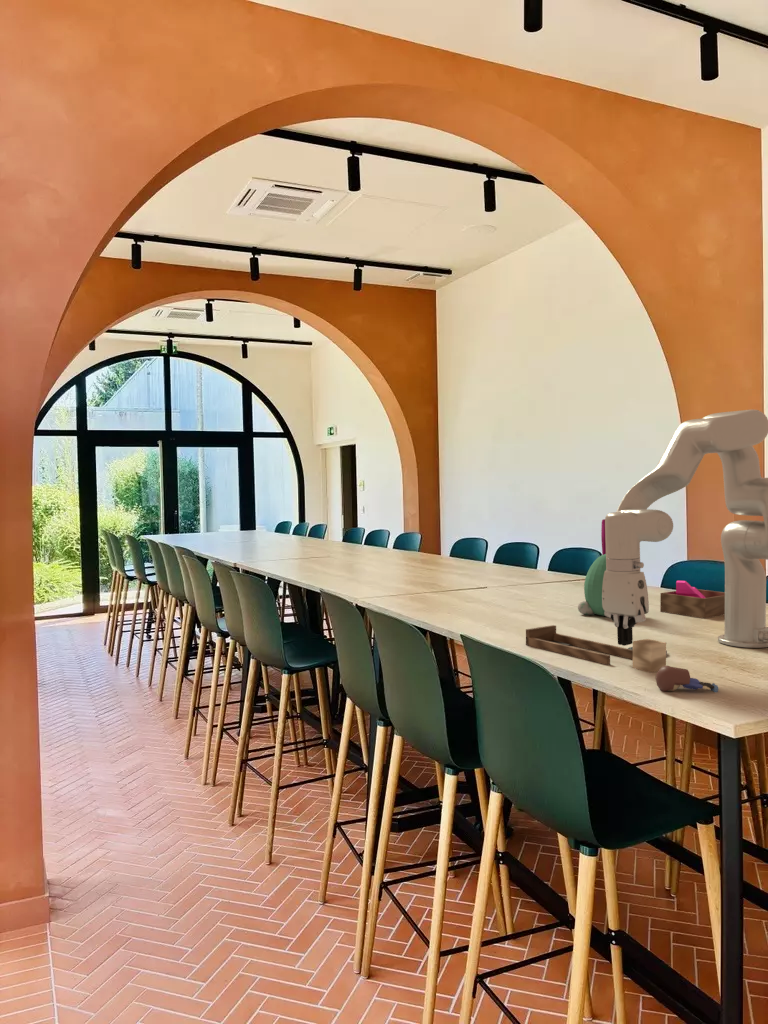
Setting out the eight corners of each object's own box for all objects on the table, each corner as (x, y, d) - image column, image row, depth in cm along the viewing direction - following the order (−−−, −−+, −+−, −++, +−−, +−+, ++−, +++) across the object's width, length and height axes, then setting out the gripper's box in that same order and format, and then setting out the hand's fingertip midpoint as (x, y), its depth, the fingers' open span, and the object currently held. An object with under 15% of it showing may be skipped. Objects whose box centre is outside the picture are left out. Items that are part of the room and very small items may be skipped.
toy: (639, 619, 226) (639, 521, 225) (583, 618, 226) (583, 521, 226) (625, 610, 241) (625, 518, 240) (573, 610, 241) (573, 519, 240)
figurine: (709, 696, 149) (650, 686, 150) (714, 671, 149) (654, 661, 150) (719, 704, 144) (658, 694, 145) (724, 678, 144) (662, 668, 144)
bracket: (675, 614, 236) (676, 582, 236) (677, 609, 245) (678, 578, 245) (717, 617, 231) (717, 584, 231) (717, 611, 240) (717, 580, 240)
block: (665, 669, 164) (666, 642, 164) (651, 672, 161) (651, 645, 161) (647, 664, 168) (647, 638, 168) (632, 667, 165) (632, 641, 165)
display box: (736, 612, 236) (736, 594, 236) (703, 618, 226) (704, 598, 226) (692, 606, 249) (692, 588, 248) (660, 611, 239) (660, 592, 239)
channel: (635, 658, 174) (635, 641, 174) (607, 664, 168) (607, 647, 168) (553, 640, 195) (553, 625, 195) (525, 644, 190) (525, 629, 190)
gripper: (661, 566, 166) (663, 647, 167) (607, 561, 179) (609, 636, 180) (639, 570, 162) (642, 652, 163) (586, 564, 174) (588, 641, 175)
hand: (625, 644), depth 171 cm, fingers closed
